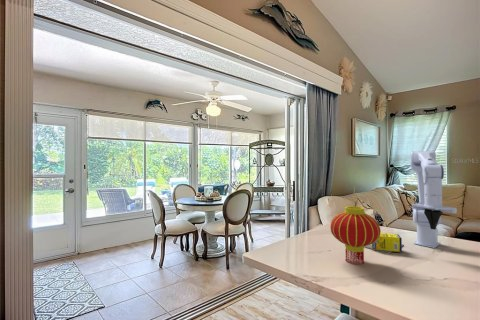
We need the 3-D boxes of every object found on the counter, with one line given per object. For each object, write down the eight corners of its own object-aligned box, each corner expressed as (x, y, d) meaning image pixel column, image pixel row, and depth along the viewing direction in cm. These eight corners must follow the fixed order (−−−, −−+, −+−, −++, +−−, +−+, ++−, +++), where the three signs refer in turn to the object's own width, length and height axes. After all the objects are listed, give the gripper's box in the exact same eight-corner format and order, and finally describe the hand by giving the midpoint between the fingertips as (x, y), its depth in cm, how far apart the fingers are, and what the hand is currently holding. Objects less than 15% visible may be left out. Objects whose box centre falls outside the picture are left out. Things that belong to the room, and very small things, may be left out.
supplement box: (401, 237, 107) (371, 235, 111) (402, 252, 107) (372, 249, 111) (398, 234, 113) (370, 231, 117) (399, 248, 113) (370, 245, 117)
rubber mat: (369, 238, 129) (369, 237, 129) (403, 245, 118) (403, 244, 118) (353, 244, 119) (353, 243, 119) (389, 253, 107) (389, 252, 107)
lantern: (376, 256, 104) (375, 180, 105) (384, 273, 88) (384, 183, 88) (330, 251, 110) (330, 179, 110) (330, 267, 93) (330, 182, 94)
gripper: (409, 193, 109) (409, 227, 109) (453, 197, 98) (453, 234, 98) (414, 192, 114) (415, 224, 113) (457, 196, 103) (458, 231, 102)
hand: (433, 228), depth 106 cm, fingers closed
